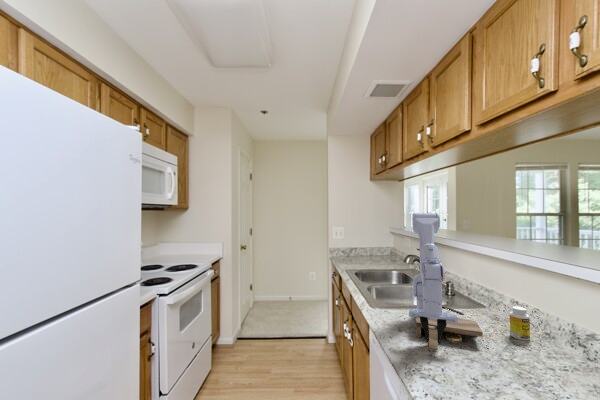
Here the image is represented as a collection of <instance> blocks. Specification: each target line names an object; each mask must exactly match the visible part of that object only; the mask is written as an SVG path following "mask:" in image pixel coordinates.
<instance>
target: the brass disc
mask: <svg viewBox="0 0 600 400" xmlns="http://www.w3.org/2000/svg"><path fill="white" fill-rule="evenodd" d="M444 336H445V339H446V340H447V341H448V342H450V343H453V344H455V343H456V344H457V343H458V344H459V343H462V342H463V339H462V338H463V337H462V334H456V333H449V332H446V333H445V335H444Z"/></svg>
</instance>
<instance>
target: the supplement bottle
mask: <svg viewBox="0 0 600 400" xmlns="http://www.w3.org/2000/svg"><path fill="white" fill-rule="evenodd" d="M527 313H528V312H527V309H526V308H524V307H522V306H512V308H511V311H510V312H509V335H510V336H511V337H512V338H513V339H517V340H520V341H529V340H530V339H531V327H530V326H531V324H530V323H531V322H530V321H531V319H530V315H529V314H527Z"/></svg>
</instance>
